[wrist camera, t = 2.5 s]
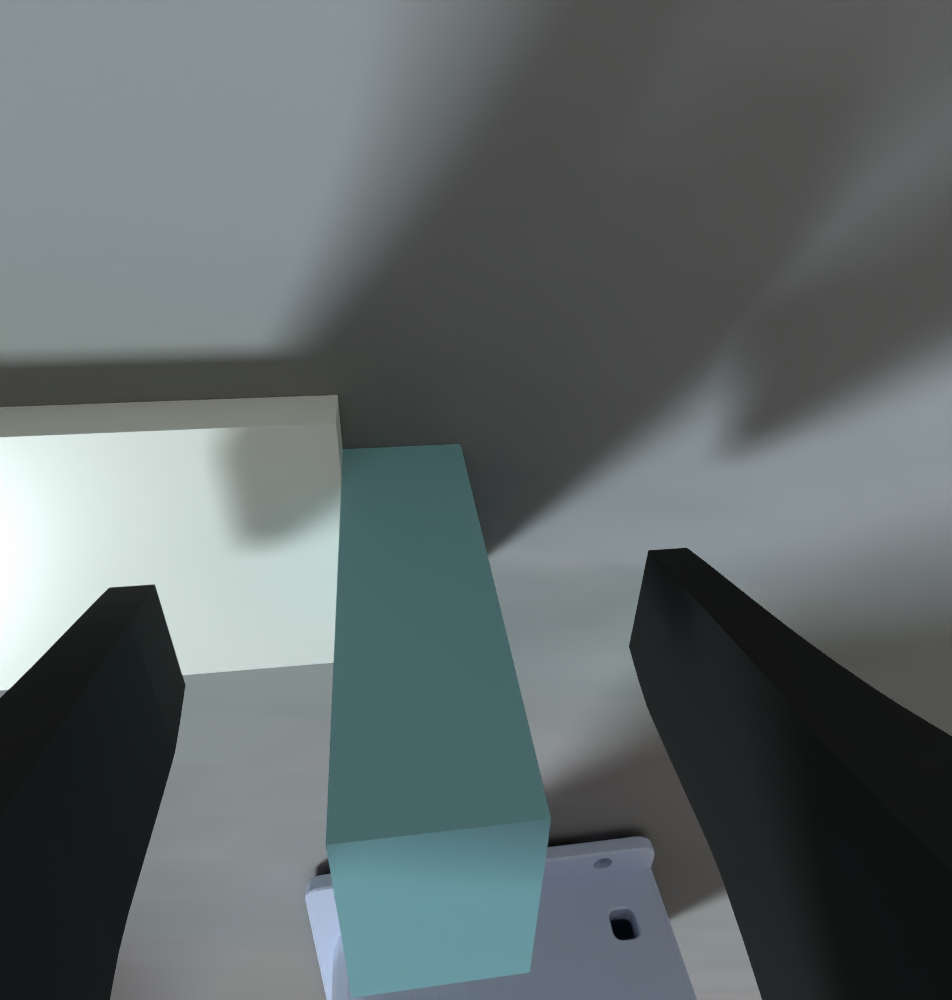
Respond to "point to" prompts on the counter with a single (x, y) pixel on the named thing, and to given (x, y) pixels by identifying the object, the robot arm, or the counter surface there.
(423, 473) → the scraper
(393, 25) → the counter surface
